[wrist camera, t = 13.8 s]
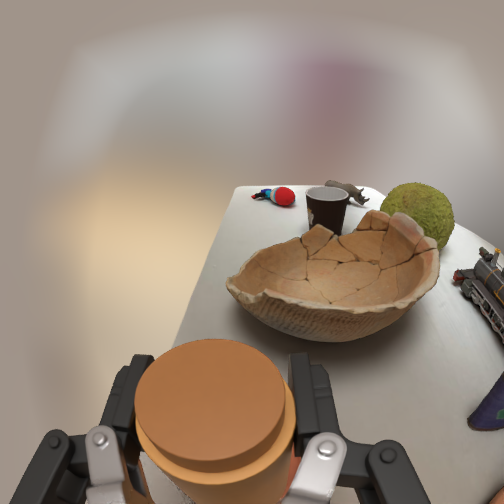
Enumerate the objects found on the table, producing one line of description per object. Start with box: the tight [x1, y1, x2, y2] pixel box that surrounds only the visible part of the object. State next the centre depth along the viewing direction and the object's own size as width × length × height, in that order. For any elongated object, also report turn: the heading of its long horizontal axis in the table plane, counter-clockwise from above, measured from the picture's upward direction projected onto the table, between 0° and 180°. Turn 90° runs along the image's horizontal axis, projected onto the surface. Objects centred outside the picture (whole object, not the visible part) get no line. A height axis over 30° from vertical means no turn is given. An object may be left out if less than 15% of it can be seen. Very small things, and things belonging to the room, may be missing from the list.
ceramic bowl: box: [226, 210, 440, 342], centre depth 41 cm, size 30×27×15 cm
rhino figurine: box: [325, 180, 370, 205], centre depth 78 cm, size 4×14×6 cm, turn 51°
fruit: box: [380, 182, 455, 251], centre depth 54 cm, size 16×14×15 cm
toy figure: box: [251, 187, 295, 205], centre depth 82 cm, size 8×5×15 cm
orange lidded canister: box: [134, 339, 296, 504], centre depth 11 cm, size 6×6×9 cm
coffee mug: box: [306, 186, 348, 238], centre depth 62 cm, size 12×9×10 cm
